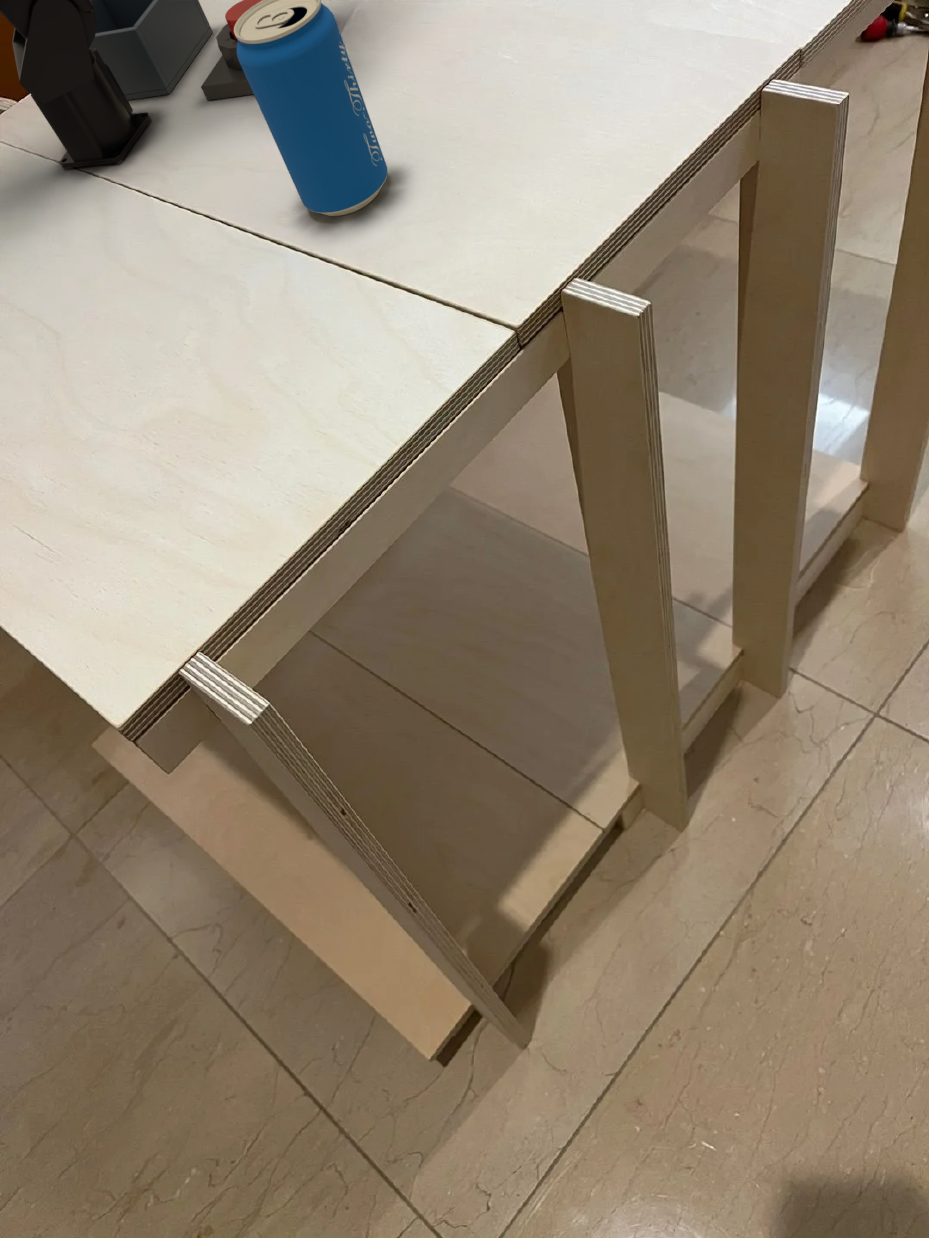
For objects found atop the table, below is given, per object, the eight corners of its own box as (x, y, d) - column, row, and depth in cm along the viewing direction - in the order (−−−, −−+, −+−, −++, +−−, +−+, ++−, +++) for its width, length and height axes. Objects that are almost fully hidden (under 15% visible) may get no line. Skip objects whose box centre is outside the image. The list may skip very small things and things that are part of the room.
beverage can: (379, 217, 62) (309, 33, 52) (295, 227, 64) (212, 52, 54) (400, 160, 65) (338, -24, 55) (319, 171, 67) (246, -4, 57)
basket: (169, 94, 80) (135, 29, 76) (79, 107, 84) (42, 45, 79) (213, 32, 85) (183, -33, 81) (126, 46, 89) (93, -15, 84)
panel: (287, 90, 75) (271, 53, 73) (207, 101, 78) (189, 65, 75) (326, 25, 80) (312, -13, 77) (249, 37, 82) (234, 1, 80)
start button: (264, 39, 75) (255, 17, 74) (228, 45, 76) (218, 23, 75) (279, 16, 77) (270, -6, 75) (243, 22, 78) (234, 0, 77)
